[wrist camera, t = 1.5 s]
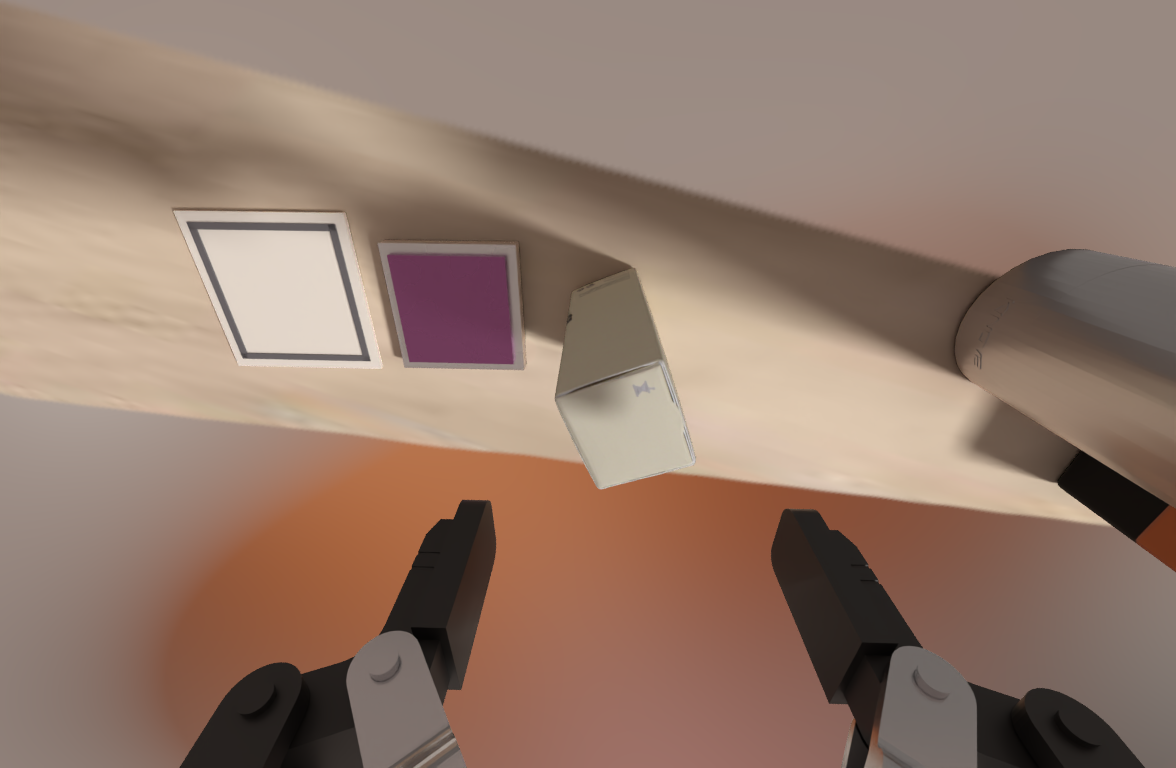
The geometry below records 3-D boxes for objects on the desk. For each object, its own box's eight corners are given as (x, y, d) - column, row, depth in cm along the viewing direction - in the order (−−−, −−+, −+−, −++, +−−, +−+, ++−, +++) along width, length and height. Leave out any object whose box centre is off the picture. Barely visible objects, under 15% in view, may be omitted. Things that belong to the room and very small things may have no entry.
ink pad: (518, 241, 25) (514, 246, 24) (526, 363, 29) (523, 372, 28) (385, 239, 25) (373, 244, 24) (410, 360, 29) (401, 370, 28)
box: (569, 289, 27) (544, 390, 15) (637, 264, 26) (663, 352, 14) (598, 361, 29) (595, 496, 18) (661, 341, 28) (701, 468, 17)
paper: (345, 212, 25) (341, 213, 24) (383, 367, 30) (380, 369, 29) (177, 210, 25) (171, 210, 25) (242, 363, 30) (237, 366, 29)
